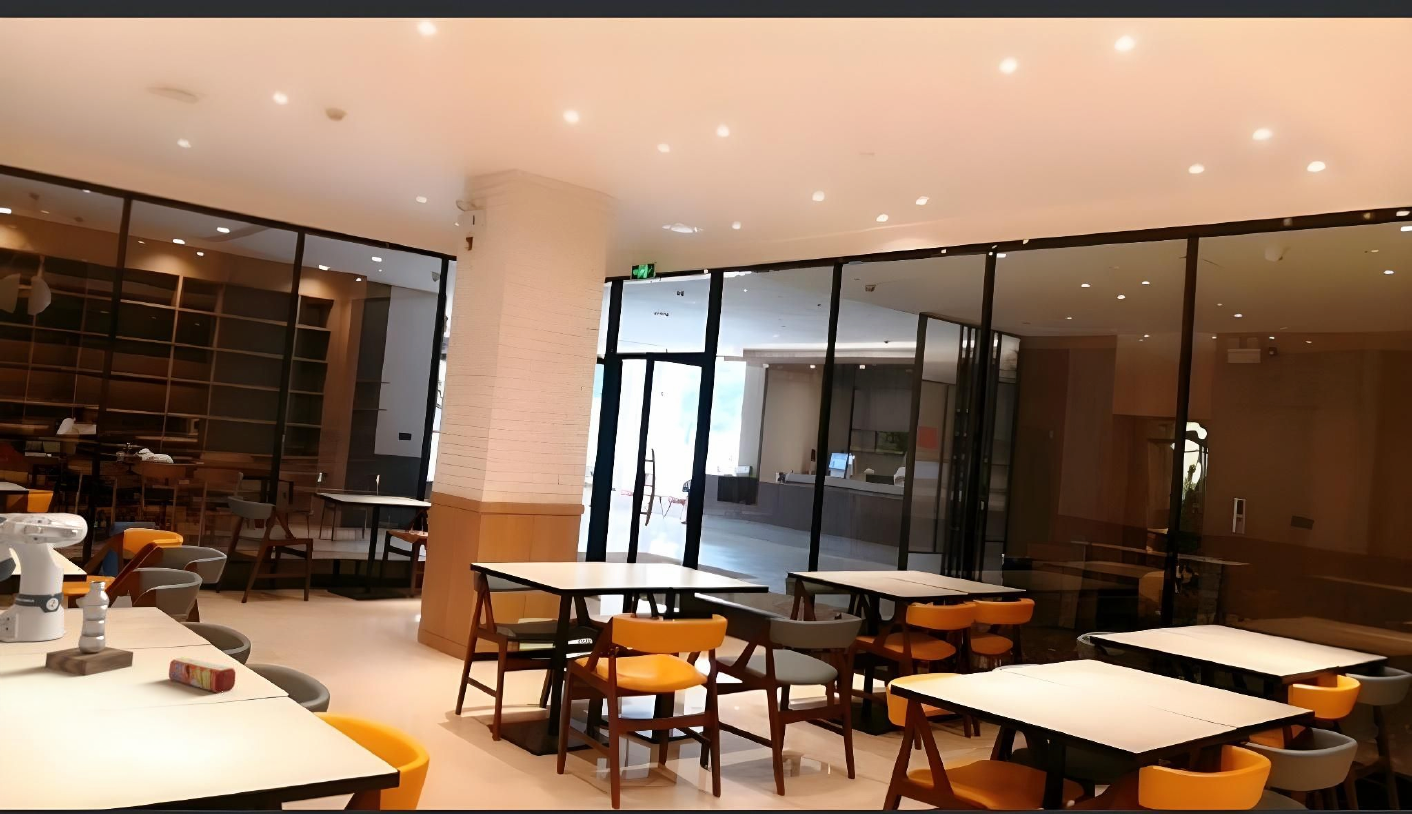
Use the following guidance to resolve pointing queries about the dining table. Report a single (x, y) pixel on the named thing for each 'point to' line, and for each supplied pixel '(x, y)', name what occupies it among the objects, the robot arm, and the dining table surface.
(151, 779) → the dining table surface
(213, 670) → the snack package
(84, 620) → the plastic bottle
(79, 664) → the walnut stand
